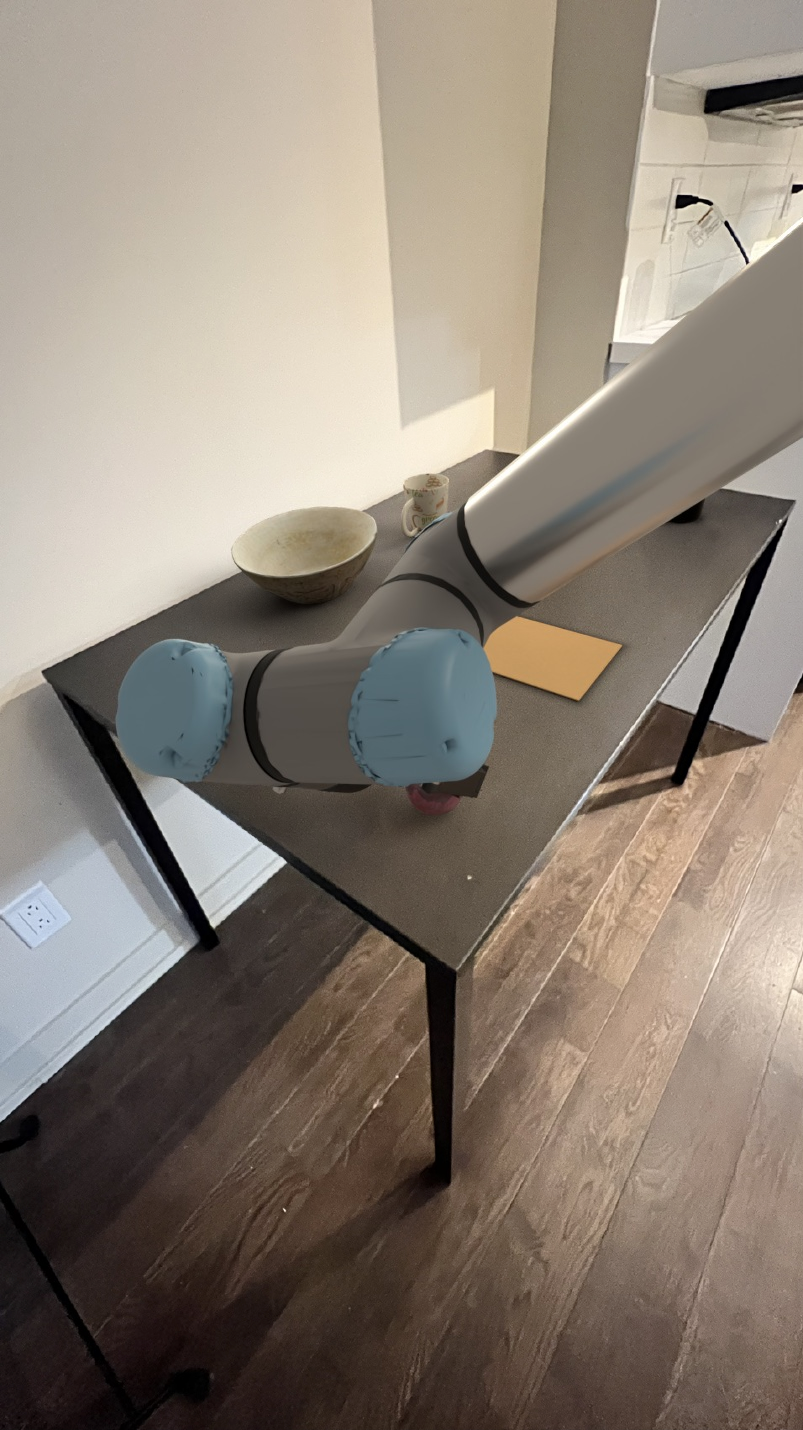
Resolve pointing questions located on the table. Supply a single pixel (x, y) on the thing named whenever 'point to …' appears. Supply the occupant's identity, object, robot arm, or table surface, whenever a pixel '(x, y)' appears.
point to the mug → (424, 501)
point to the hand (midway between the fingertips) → (453, 765)
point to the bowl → (307, 552)
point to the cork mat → (548, 656)
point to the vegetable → (431, 800)
